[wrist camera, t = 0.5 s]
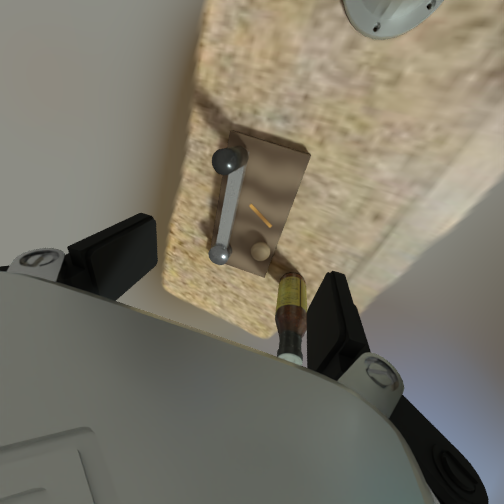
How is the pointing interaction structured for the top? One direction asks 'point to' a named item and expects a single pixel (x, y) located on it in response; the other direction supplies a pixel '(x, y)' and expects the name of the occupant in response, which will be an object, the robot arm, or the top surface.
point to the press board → (261, 201)
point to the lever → (228, 197)
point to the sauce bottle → (291, 317)
